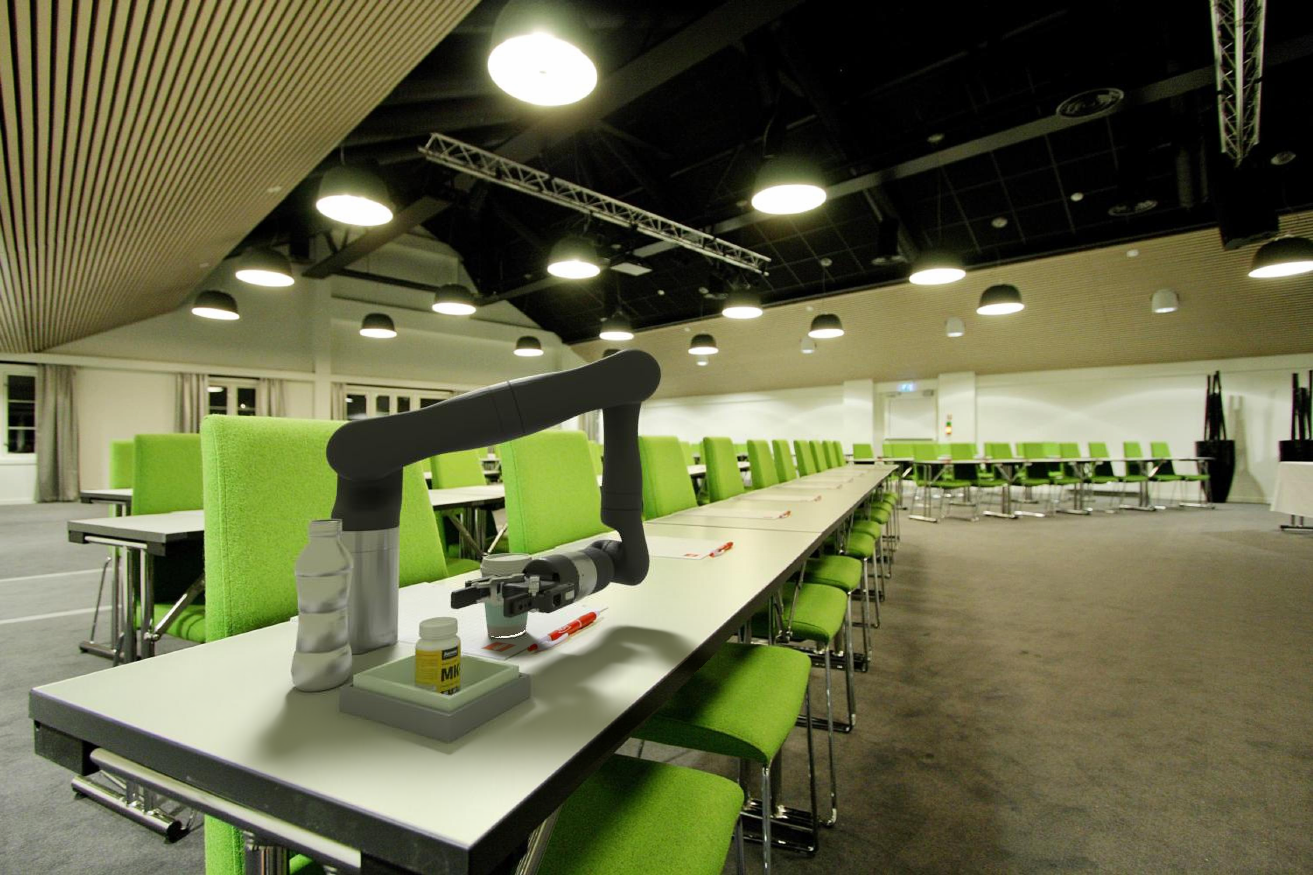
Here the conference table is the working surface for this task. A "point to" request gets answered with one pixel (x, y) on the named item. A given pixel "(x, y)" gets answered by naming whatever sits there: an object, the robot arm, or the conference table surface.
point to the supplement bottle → (438, 656)
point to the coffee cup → (494, 614)
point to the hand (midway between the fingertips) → (478, 604)
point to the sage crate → (401, 685)
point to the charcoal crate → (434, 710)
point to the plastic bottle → (323, 609)
